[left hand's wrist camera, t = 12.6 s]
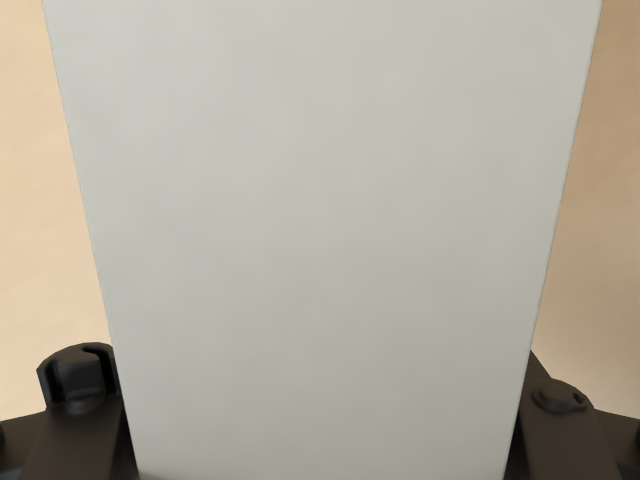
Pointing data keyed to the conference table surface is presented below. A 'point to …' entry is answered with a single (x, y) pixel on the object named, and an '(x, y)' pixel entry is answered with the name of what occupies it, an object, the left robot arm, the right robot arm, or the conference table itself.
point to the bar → (321, 222)
